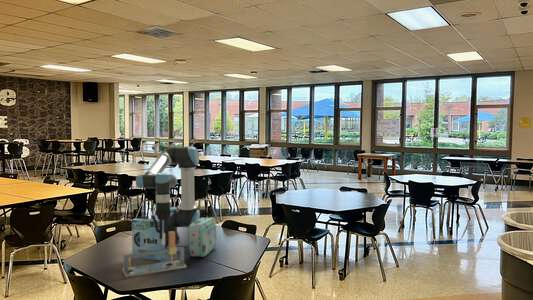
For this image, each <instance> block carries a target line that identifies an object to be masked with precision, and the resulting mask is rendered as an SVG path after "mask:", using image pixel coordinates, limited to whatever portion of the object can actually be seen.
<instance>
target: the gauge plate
mask: <svg viewBox="0 0 533 300" xmlns="http://www.w3.org/2000/svg"><path fill="white" fill-rule="evenodd" d="M187 266H188V265H187V264H186V263H185V262H184V263H182V264H181V263H180V259H177V260H173V264H171V260H169V261H164V262H157V263H151V264H149V263H148V264H145V265H144V264H143V265H137V266H131V271H129V267H128V272H124V269H123V268H122V269H121V271H122V273H123V275H124V277H125V278H130V277H134V276H136V275H137V276H142V275H149V274H154V273H155V274H156V273H161V272H167V271H173V270H179V269H186V268H187ZM129 276H130V277H129Z"/></svg>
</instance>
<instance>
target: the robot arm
mask: <svg viewBox="0 0 533 300" xmlns="http://www.w3.org/2000/svg"><path fill="white" fill-rule="evenodd" d="M199 154H200V153H199V150H198V149H197V147H195V146H170V147H167V148H165V149H163V150H162V151H161V152H160V153H159V154H158V155H157V156H156V160H155V161H154V162H153V163H152V165H150V167H149V168H148V169H147V170H146V172H145V173H144V174H138V175H137V176H136V177H135V186H136V188H139V189H155V211H154V213H153V214H151V215H150V218H151V219H153V222H154V225H155V229H156V232H157V233H159V238H160V239H161V244H162V245H165V246H168V232H170V231H174V232H175V245H177V244H179V243H180V242H181V238H180V235H179V232H178V228H187V229H188V228H189V226H190V225H191V224H192V223H193V222H195V221H197V220H199V219H201V218H200V216H201V211H200V210H199V209H198V206H196V205H195V201H196V200H195V169H196V168H197V165H199V163H200V155H199ZM170 165H178V167H177V168H178V169H179V170H180V185H181V187H180V188H181V189H180V192H181V193H180V194H181V195H180V196H181V206H179V208H178V207H177V206H171V202H170V201H171V188H174V187H175V186H176V185H177V183H178V179H177V176H175V175H174V174H170V173H168V172H164V171H165V170H166V167H169V166H170ZM157 218H158V220H159V229H158V225H157V221H156V220H157ZM163 220H164V232H162V221H163Z"/></svg>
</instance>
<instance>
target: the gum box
mask: <svg viewBox="0 0 533 300" xmlns="http://www.w3.org/2000/svg"><path fill="white" fill-rule="evenodd" d="M156 221H157V225H158V229H159V219H156ZM162 232H164V220H163V221H162ZM131 242H132V243H131V248H132V252H131V253H139V252H146V251H154V250H161V249H166V245H162V244H161V239H160V238H159V233H157V232H156V229H155V225H154V222H153V219H152V218H151V219H150V218H137V217H135V218H133V219H131ZM133 258H135V259H144V260H151V261H152V260H153V261H162V260H165V259H166V253H160V254H153V255H145V256H138V257H132V259H133Z"/></svg>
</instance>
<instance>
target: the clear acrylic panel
mask: <svg viewBox="0 0 533 300" xmlns="http://www.w3.org/2000/svg"><path fill="white" fill-rule="evenodd" d="M167 252H169V249H167V248H165V249H161V250H154V251H146V252H139V253H132V252H131V253H125V254H123V255H122V257H123V259H122V260H123V261H122V262H123V269H124V272H128V268H129V271H131V267H132V266H131V265H132V264H131V262H132V261H131V258H133V257H138V256H145V255H153V254H160V253H165V254H166V253H167ZM176 252H179V260H180V263H181V264H182V263H185V246H178V247H177V246H176ZM167 254H168V253H167Z"/></svg>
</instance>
